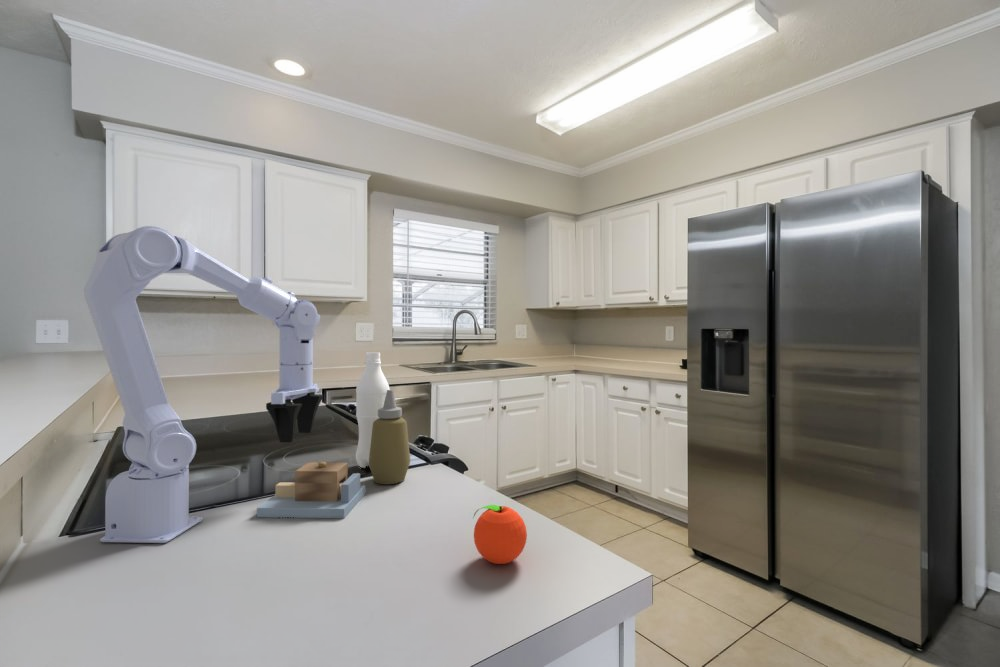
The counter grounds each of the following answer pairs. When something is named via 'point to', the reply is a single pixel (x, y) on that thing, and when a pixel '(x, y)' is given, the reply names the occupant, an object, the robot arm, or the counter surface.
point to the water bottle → (369, 404)
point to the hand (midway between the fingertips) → (296, 437)
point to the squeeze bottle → (389, 444)
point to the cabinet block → (320, 481)
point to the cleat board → (312, 502)
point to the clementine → (500, 534)
